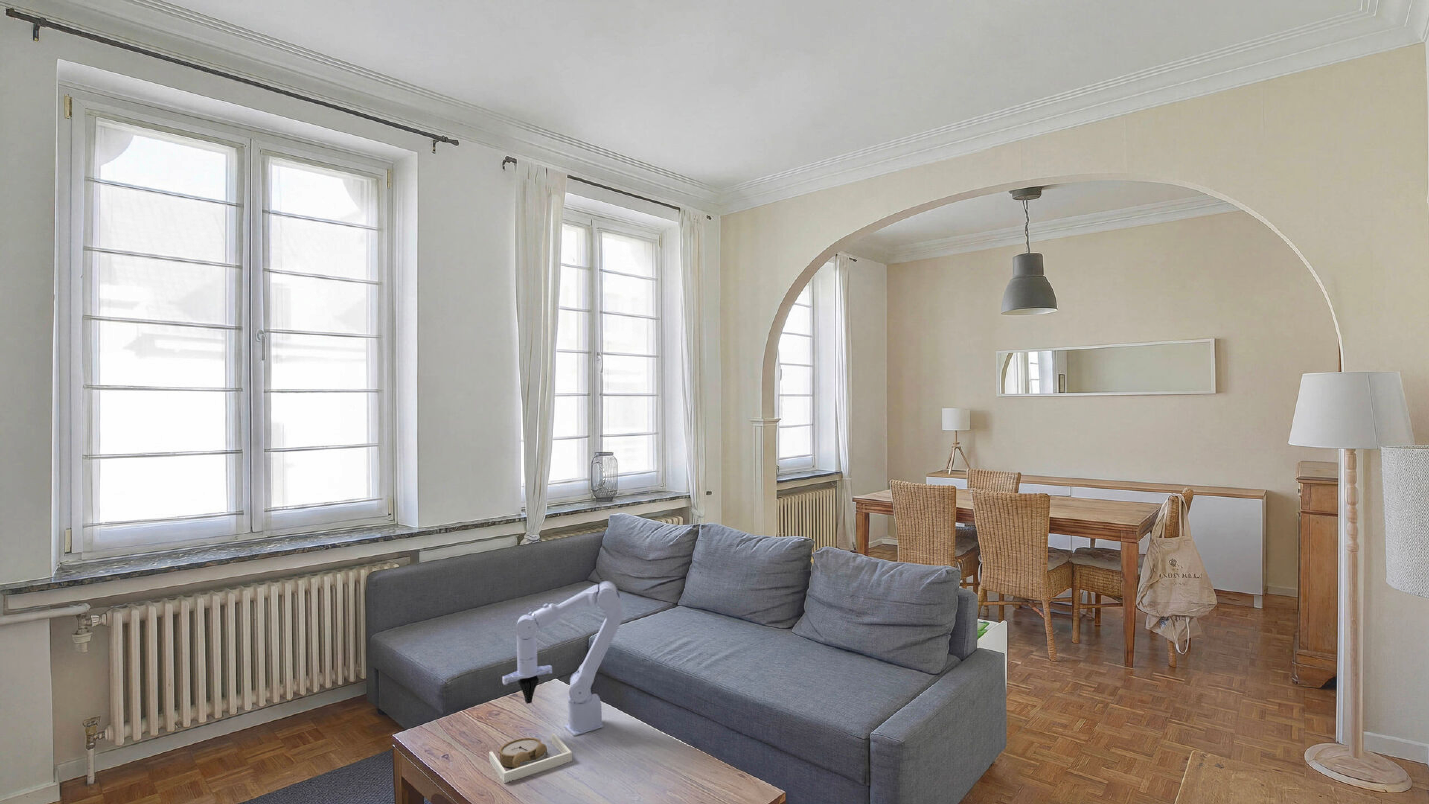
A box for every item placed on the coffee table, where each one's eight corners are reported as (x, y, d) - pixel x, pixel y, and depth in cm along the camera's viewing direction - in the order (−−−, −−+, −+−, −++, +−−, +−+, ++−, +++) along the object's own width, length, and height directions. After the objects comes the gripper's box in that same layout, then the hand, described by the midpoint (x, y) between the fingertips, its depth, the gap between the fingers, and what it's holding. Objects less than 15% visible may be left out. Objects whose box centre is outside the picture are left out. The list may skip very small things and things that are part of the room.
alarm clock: (526, 734, 201) (555, 741, 191) (528, 751, 201) (557, 759, 191) (491, 749, 193) (519, 757, 183) (493, 767, 193) (521, 776, 182)
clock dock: (554, 741, 202) (553, 732, 202) (572, 761, 191) (571, 752, 191) (489, 761, 192) (489, 752, 192) (504, 783, 180) (503, 773, 180)
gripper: (545, 647, 215) (547, 691, 215) (498, 658, 207) (500, 703, 207) (554, 654, 209) (555, 699, 209) (505, 665, 201) (507, 712, 201)
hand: (528, 702), depth 207 cm, fingers closed
